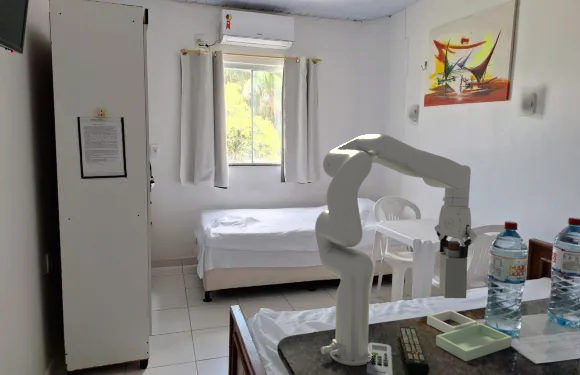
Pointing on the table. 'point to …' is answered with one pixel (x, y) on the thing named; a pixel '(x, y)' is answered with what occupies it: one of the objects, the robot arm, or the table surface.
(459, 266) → the perfume bottle
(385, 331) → the table surface
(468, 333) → the green bin
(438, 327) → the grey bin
